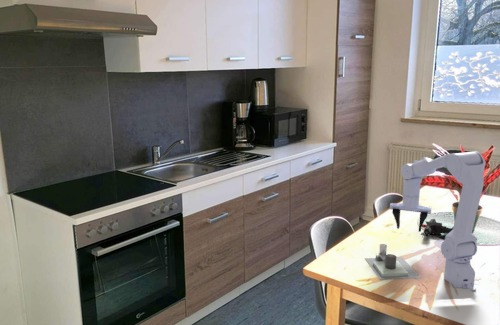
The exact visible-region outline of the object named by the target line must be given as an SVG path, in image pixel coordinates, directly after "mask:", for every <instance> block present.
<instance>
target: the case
mask: <svg viewBox="0 0 500 325" xmlns="http://www.w3.org/2000/svg"><path fill="white" fill-rule="evenodd" d="M364 261H366V262H367V264H368V266H369V267H370V268H371V269H372V271H373V272H374V274H375V275H376V277H377V278H378V280H381V281H383V280H402V279H403V280H405V279H406V280H407V279H422V278H421V276H420V275H419V273H417V271H415V270H414V268H413V267H411V265H410V264H409V263H408V262H407V261H406V259H404V257H403V256H396V261H399V263H400V264H401V265H402V266H403V267H404V268H405V269H406V271H407V272H408V275H405V276H384V277H382V276H381V274H380V273H379V272H378V270H377V269H376V268H375V266H374V265H373V262H382V261H383V260H382V259H381V258H380V256H379V254H378V255H375V257H369V258H364Z"/></svg>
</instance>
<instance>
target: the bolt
mask: <svg viewBox="0 0 500 325" xmlns="http://www.w3.org/2000/svg"><path fill="white" fill-rule="evenodd" d="M387 247H388V246H387V244H385V243H380V244H379V252H378V255H379V256H380V258H381V259H382V260H383V261H384V262H385V256H386V255H387Z"/></svg>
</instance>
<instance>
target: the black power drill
mask: <svg viewBox="0 0 500 325" xmlns="http://www.w3.org/2000/svg"><path fill="white" fill-rule="evenodd" d="M424 222H425V223H426V224H424V223H423V225H422V227H421V228H424V229H423V234H424V236H425V237H429V235H430V234H433V235H437V236H441V234H444V235H445V234H446V235H447V234H448V233H449V232H451V231H452V230H453V228H452V227H451V228H450V227H447V226H444V225H443V223H442V222H437V220H436V219H435V218H432V219H430V220H429V221H427V220H425V221H424Z"/></svg>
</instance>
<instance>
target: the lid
mask: <svg viewBox="0 0 500 325" xmlns="http://www.w3.org/2000/svg"><path fill="white" fill-rule="evenodd" d="M396 257H397V256H396V255H395V254H390V253H389V254H388V253H386V256H385V262H384V261H382V262H373V265H374V266H375V268H376V269H377V270H378V272H379V273H380V274H381V276H382V277H384V276H405V275H408V272H407V271H406V269H405V268H404V267H403V266H402V265H401V264H400V263H399V261H396Z"/></svg>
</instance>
